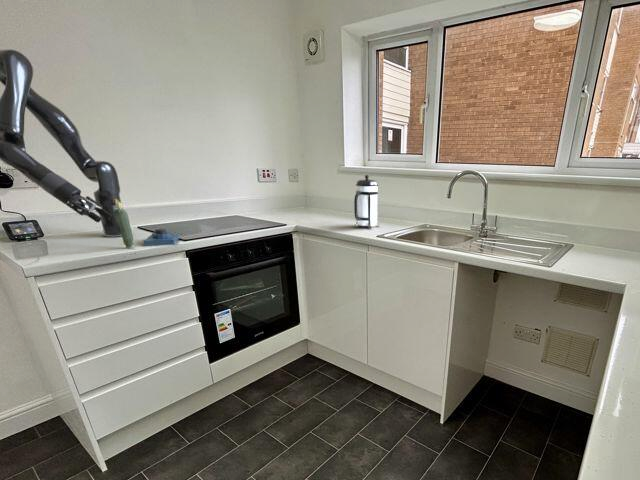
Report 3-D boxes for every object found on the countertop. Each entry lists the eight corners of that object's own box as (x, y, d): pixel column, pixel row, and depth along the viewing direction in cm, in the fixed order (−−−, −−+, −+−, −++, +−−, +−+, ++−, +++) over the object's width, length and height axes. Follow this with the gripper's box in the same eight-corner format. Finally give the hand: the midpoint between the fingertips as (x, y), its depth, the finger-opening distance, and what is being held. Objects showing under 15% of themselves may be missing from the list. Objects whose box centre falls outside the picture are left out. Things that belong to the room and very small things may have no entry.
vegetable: (138, 248, 146) (126, 198, 139) (128, 250, 142) (115, 199, 135) (131, 247, 147) (118, 198, 140) (120, 249, 143) (107, 198, 136)
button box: (151, 239, 162) (150, 230, 160) (179, 238, 166) (177, 229, 164) (145, 245, 150) (142, 236, 148) (174, 244, 154) (172, 235, 153)
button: (157, 233, 158) (155, 228, 157) (167, 233, 159) (166, 228, 158) (155, 235, 154) (154, 230, 153) (165, 234, 156) (164, 230, 155)
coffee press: (351, 225, 217) (350, 173, 206) (376, 224, 220) (377, 174, 210) (354, 230, 201) (354, 175, 190) (382, 229, 205) (382, 175, 194)
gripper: (55, 182, 125) (103, 214, 132) (76, 180, 137) (118, 210, 145) (42, 197, 125) (90, 229, 133) (64, 194, 138) (106, 223, 145)
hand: (105, 219), depth 139 cm, fingers open, 8 cm apart
